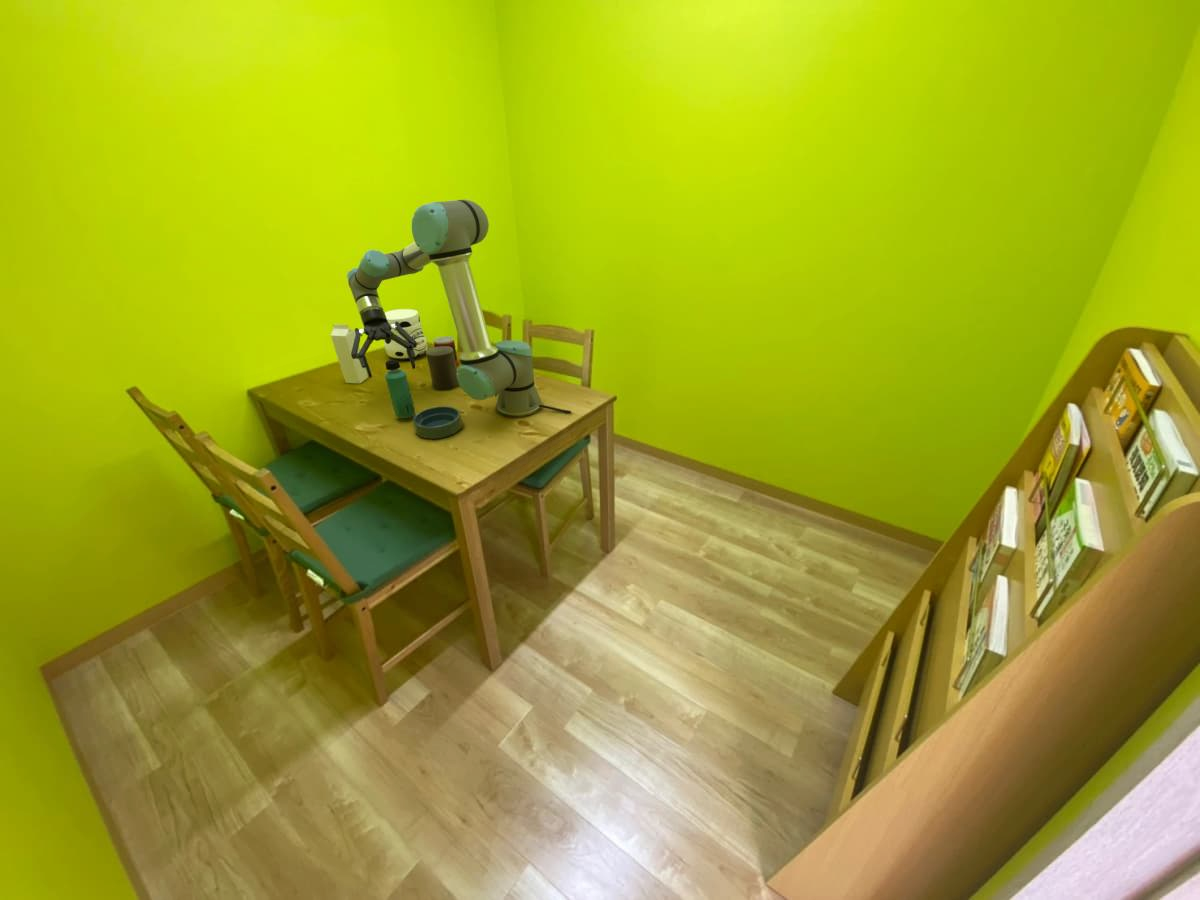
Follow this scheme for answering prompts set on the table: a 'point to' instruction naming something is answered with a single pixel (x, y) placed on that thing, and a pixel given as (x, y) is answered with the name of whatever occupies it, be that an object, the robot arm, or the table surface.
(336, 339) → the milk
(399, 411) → the beverage bottle
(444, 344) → the canned food
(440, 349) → the pillar candle
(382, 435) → the table surface
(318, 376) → the table surface
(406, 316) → the milk container
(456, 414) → the dish
